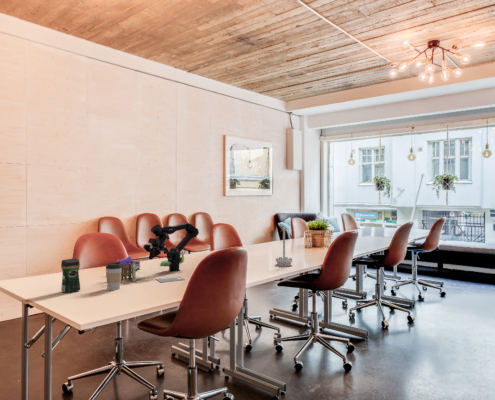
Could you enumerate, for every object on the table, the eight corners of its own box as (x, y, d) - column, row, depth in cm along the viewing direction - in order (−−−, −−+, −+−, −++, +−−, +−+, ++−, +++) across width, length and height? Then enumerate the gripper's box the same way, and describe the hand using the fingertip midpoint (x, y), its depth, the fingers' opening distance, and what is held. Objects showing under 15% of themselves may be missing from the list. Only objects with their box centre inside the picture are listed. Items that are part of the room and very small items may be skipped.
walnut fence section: (130, 278, 254) (130, 263, 254) (131, 278, 253) (131, 263, 253) (112, 280, 248) (112, 264, 248) (113, 280, 247) (113, 265, 247)
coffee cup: (112, 291, 220) (112, 265, 220) (102, 289, 225) (102, 263, 224) (125, 288, 228) (125, 262, 227) (115, 286, 232) (114, 261, 232)
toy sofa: (128, 275, 263) (127, 260, 263) (116, 275, 264) (115, 260, 264) (140, 269, 284) (140, 255, 283) (129, 269, 285) (129, 255, 285)
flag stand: (293, 266, 297) (293, 227, 296) (276, 266, 297) (276, 227, 296) (291, 263, 310) (291, 226, 309) (275, 263, 310) (275, 226, 309)
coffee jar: (76, 288, 226) (76, 257, 226) (81, 291, 220) (81, 258, 220) (59, 291, 219) (59, 259, 219) (64, 294, 214) (64, 260, 213)
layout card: (179, 276, 259) (179, 276, 259) (184, 279, 250) (184, 279, 250) (155, 279, 251) (155, 278, 251) (160, 282, 242) (160, 282, 242)
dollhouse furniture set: (159, 266, 297) (159, 252, 297) (169, 259, 326) (169, 246, 326) (178, 266, 296) (178, 252, 296) (186, 260, 325) (186, 247, 325)
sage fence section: (131, 277, 255) (131, 262, 255) (135, 277, 255) (135, 262, 255) (132, 281, 243) (132, 266, 243) (135, 281, 244) (135, 266, 244)
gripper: (144, 232, 269) (133, 250, 260) (165, 234, 260) (154, 253, 250) (153, 242, 276) (142, 260, 267) (173, 244, 267) (162, 263, 258)
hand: (149, 259), depth 260 cm, fingers closed
